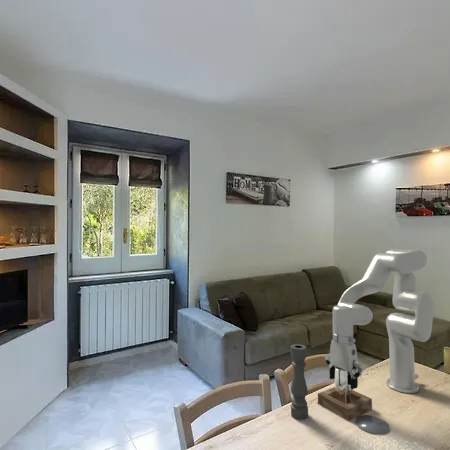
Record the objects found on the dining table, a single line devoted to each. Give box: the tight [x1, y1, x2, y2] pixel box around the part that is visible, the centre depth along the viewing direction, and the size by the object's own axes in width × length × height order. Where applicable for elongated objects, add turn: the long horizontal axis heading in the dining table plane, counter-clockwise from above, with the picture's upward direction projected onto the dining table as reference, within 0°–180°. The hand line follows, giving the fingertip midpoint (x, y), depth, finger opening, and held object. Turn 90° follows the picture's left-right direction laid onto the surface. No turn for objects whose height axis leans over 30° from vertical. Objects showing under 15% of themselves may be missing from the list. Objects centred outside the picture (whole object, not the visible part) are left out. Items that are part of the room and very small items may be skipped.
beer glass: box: [334, 366, 354, 404], centre depth 124 cm, size 7×7×15 cm
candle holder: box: [290, 343, 309, 421], centre depth 118 cm, size 6×6×25 cm
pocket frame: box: [317, 386, 373, 422], centre depth 124 cm, size 14×14×4 cm
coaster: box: [354, 414, 391, 435], centre depth 111 cm, size 11×11×1 cm
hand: (343, 383), depth 124 cm, fingers open, 9 cm apart
